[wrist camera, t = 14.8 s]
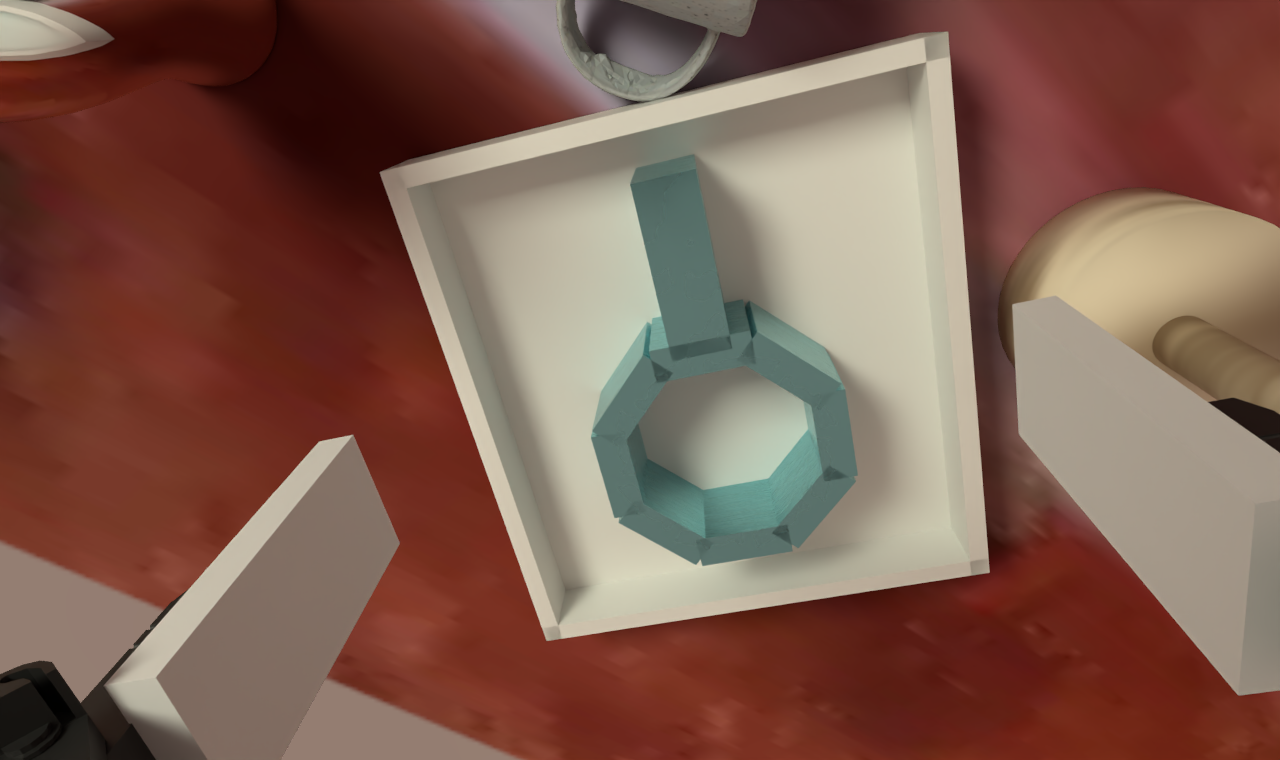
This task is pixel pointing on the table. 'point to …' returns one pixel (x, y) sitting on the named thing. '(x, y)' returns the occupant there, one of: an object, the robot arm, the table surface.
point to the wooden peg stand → (1164, 286)
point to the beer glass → (123, 49)
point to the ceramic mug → (709, 3)
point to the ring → (704, 343)
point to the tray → (748, 269)
